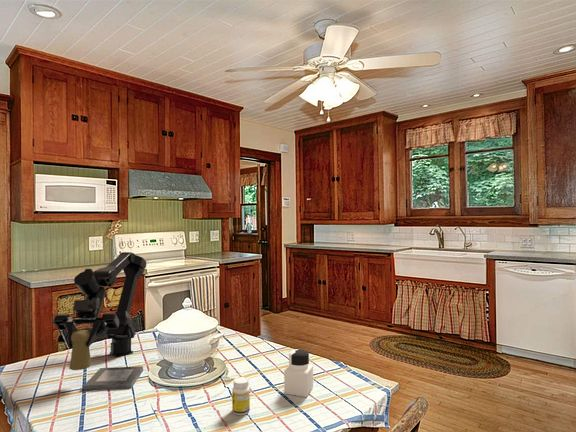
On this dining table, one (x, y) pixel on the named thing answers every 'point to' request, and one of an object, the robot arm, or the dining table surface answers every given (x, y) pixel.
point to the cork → (80, 350)
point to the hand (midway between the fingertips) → (78, 346)
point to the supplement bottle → (241, 396)
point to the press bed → (114, 378)
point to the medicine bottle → (298, 374)
